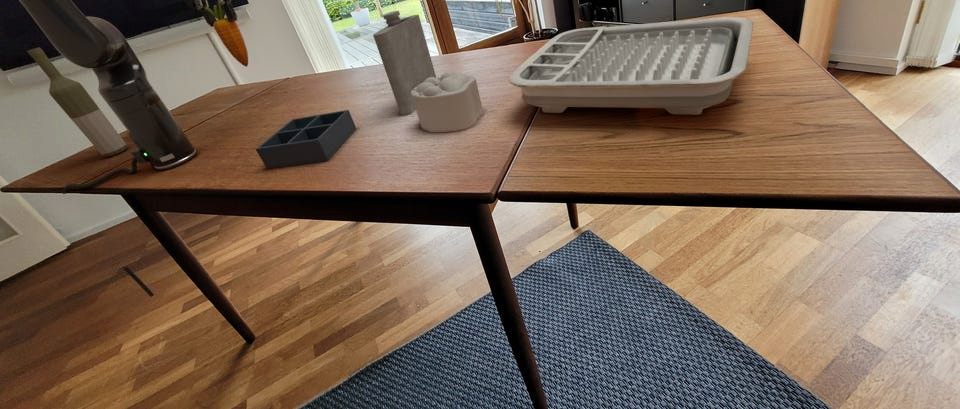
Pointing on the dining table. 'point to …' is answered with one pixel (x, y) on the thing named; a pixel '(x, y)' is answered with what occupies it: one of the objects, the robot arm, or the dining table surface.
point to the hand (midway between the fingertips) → (224, 23)
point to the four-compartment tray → (307, 140)
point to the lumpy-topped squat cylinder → (447, 102)
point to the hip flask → (404, 57)
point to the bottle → (80, 108)
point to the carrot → (229, 35)
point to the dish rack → (638, 66)
